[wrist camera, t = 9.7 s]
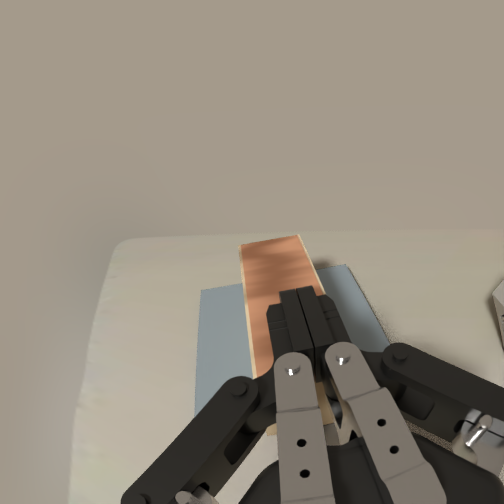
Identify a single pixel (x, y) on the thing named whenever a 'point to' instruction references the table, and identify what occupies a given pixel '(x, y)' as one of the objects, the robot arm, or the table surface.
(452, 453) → the robot arm
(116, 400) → the table surface
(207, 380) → the mat
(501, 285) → the die
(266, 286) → the beech block
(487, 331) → the table surface
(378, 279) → the table surface
